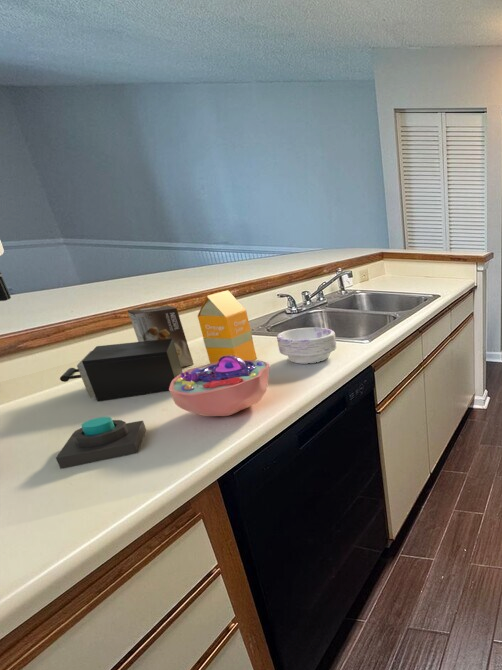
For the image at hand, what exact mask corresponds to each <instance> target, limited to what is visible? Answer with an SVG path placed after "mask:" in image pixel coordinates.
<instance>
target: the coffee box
mask: <svg viewBox="0 0 502 670" xmlns="http://www.w3.org/2000/svg"><path fill="white" fill-rule="evenodd" d="M127 313H128V316H129V319H130V321H131V325H132V327H133V330H134V333H135V336H136V339H137V342H142V341H152V340H162V339H171V338H173V342H174V345H175V348H176V352H177V355H178V358H179V362H180V365H181V368H183V367H188V366H192V365H194V361H193V357H192V354H191V351H190V347H189V344H188V340H187V337H186V334H185V331H184V327H183V324H182V322H181V321H182V320H181V318H180V314H179V311H178V308H177V307H175V306H173V305H169V304H167V305H161V306H152V307H151V306H150V307H143V308H136V309H129V310H127Z"/></svg>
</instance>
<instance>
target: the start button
mask: <svg viewBox="0 0 502 670" xmlns="http://www.w3.org/2000/svg"><path fill="white" fill-rule="evenodd" d="M113 420H114V419H113V418H112V417H109V416H101V417H96V418H92V419H89V420H86V421H84V422H82V424H81V426H80V428H82V429H83V431H84V434H85V435H95V434H100V433H104V432H107V431H110V430H111V429H113V428H115V426H114V423H113Z"/></svg>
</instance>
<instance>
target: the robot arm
mask: <svg viewBox="0 0 502 670" xmlns="http://www.w3.org/2000/svg"><path fill="white" fill-rule="evenodd" d="M4 253H5V249H4V246H3V243H2V240H1V239H0V257H1V256H3V254H4ZM8 300H11V294H10V292H9V289H8V287H7V285H6V282H5V280H4V277H3V276H2V272H1V270H0V302H5V301H8Z"/></svg>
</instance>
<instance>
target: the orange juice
mask: <svg viewBox="0 0 502 670" xmlns="http://www.w3.org/2000/svg"><path fill="white" fill-rule="evenodd" d="M247 312H248V311H247V309H246V308H245V307H244V306H243V305H242V304H241V303H240V301H238V300H237V299H236V297H235V296H234V294H232V293H231V292H230V290H229V289H226V290H222V291H221V290H220V291H217V292H213V293H210V294H206V296H205V298H204V300H203V303H202V305H201V307H200V309H199V311H198V314H197V320H198V323H199V327H200V330H201V335H202V339H203V342H204V346H205V349H206V353H207V357H208V361H209V364H211V363H217V362H218V361H219V359H220V358H221V357H223V356H226V355H232V356H236V357H239V358H241V359H242V360H257V359H258V357H257V353H256V348H255V344H254V339H253V334H252V330H251V326H250V322H249V317H248V313H247Z"/></svg>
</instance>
